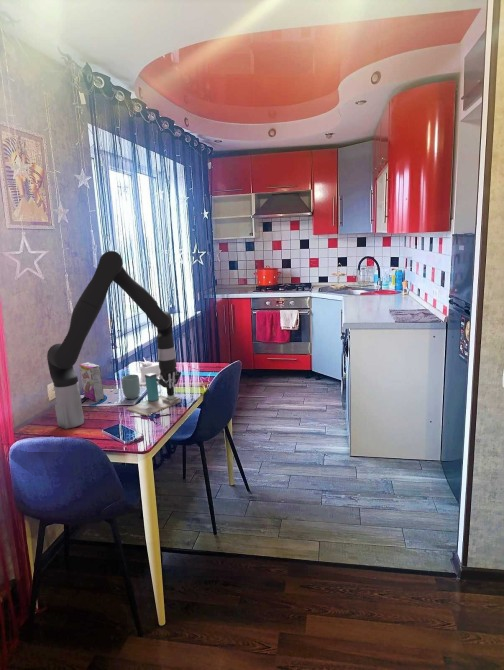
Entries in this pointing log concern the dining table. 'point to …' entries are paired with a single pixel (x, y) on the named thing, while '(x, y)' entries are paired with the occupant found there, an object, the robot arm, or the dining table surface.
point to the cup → (131, 386)
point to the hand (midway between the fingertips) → (171, 395)
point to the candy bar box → (91, 381)
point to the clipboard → (153, 405)
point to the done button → (171, 397)
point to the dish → (147, 371)
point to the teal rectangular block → (151, 387)
